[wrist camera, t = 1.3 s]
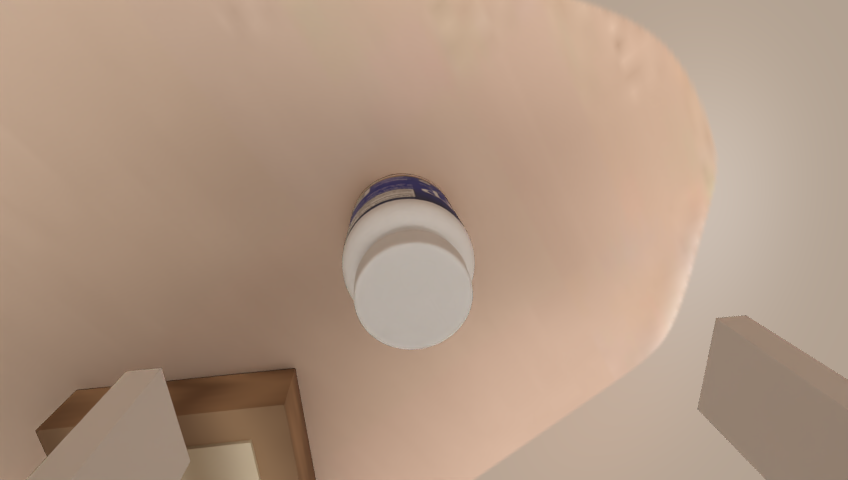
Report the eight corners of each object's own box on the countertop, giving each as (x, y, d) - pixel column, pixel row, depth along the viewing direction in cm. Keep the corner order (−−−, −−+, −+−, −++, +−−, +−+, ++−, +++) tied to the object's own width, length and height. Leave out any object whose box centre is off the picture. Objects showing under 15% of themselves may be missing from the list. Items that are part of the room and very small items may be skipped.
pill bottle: (468, 239, 23) (518, 325, 15) (383, 284, 23) (385, 392, 15) (422, 152, 21) (449, 193, 13) (331, 202, 22) (300, 273, 13)
